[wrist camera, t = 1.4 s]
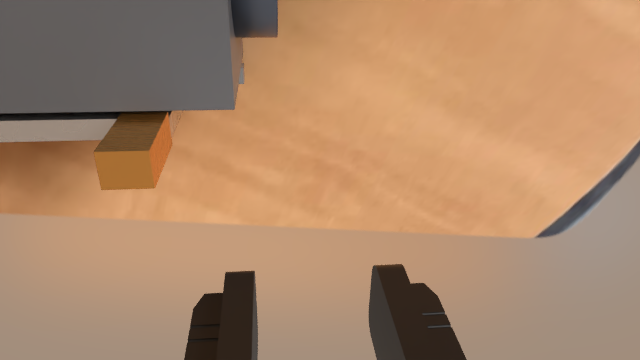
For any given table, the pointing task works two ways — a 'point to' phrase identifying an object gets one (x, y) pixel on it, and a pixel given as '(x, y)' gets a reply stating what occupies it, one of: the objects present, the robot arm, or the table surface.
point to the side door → (105, 140)
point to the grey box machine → (126, 53)
